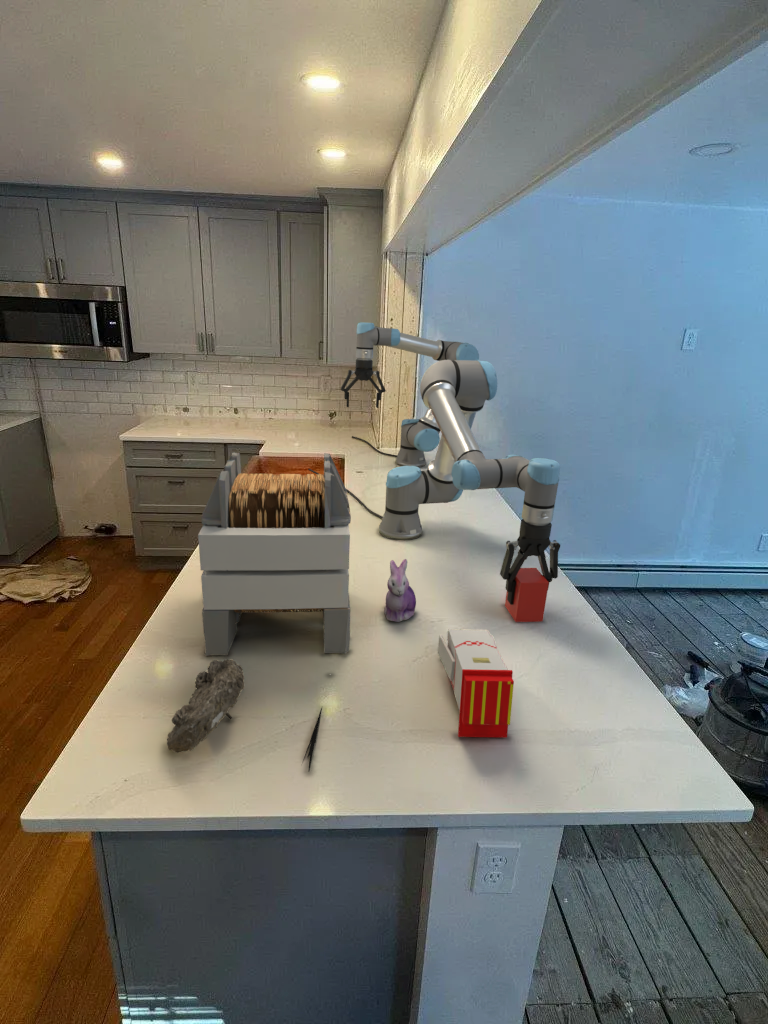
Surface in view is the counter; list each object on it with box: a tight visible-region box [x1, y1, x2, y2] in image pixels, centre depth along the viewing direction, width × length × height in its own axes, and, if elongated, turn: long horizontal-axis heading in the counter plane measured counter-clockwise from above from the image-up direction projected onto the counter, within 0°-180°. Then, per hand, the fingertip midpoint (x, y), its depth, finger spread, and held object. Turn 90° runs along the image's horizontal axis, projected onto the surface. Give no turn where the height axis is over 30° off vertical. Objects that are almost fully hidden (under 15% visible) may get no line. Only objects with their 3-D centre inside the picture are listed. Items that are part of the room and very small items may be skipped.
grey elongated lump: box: [166, 658, 245, 754], centre depth 106 cm, size 22×10×15 cm
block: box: [504, 567, 550, 623], centre depth 149 cm, size 7×9×11 cm
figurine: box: [384, 558, 417, 623], centre depth 145 cm, size 9×10×15 cm
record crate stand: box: [197, 451, 352, 657], centre depth 136 cm, size 34×33×41 cm
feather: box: [301, 673, 332, 771], centre depth 108 cm, size 2×28×2 cm
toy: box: [437, 628, 515, 738], centre depth 117 cm, size 12×13×30 cm
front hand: (524, 601), depth 149 cm, fingers closed on block, 7 cm apart
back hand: (362, 407), depth 258 cm, fingers open, 13 cm apart
